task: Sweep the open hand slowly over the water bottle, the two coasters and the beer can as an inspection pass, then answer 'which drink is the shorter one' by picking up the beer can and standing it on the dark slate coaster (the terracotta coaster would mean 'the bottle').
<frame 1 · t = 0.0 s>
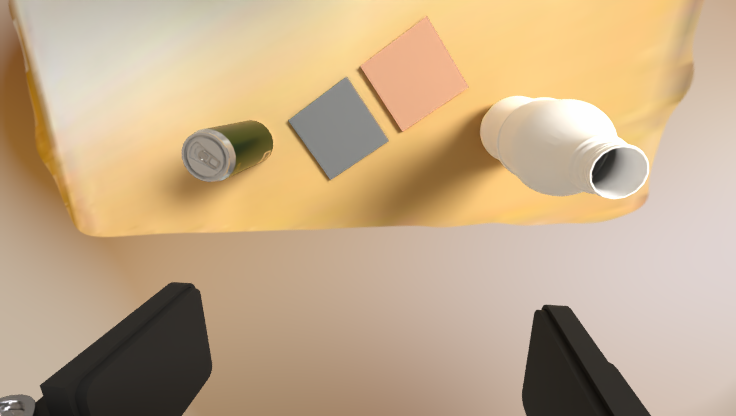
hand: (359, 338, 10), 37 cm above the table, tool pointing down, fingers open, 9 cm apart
beer can: (255, 141, 48), on the table
water bottle: (507, 127, 43), on the table
terracotta coaster: (414, 76, 43), on the table
slate coaster: (339, 130, 46), on the table
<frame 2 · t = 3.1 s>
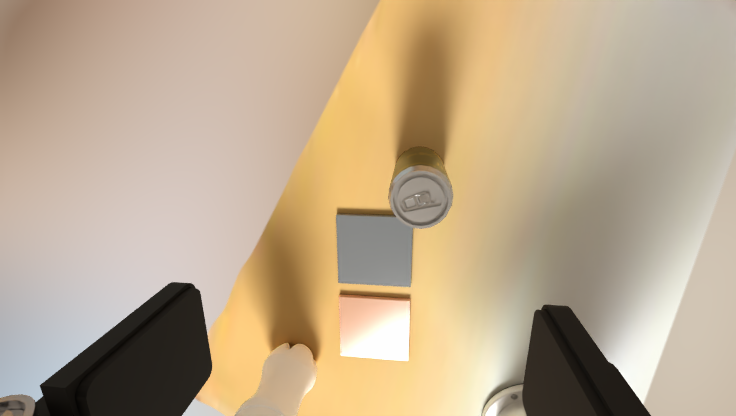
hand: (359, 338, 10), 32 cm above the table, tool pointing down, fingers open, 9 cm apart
beer can: (419, 169, 41), on the table
water bottle: (296, 356, 51), on the table
terracotta coaster: (374, 326, 48), on the table
slate coaster: (374, 249, 45), on the table
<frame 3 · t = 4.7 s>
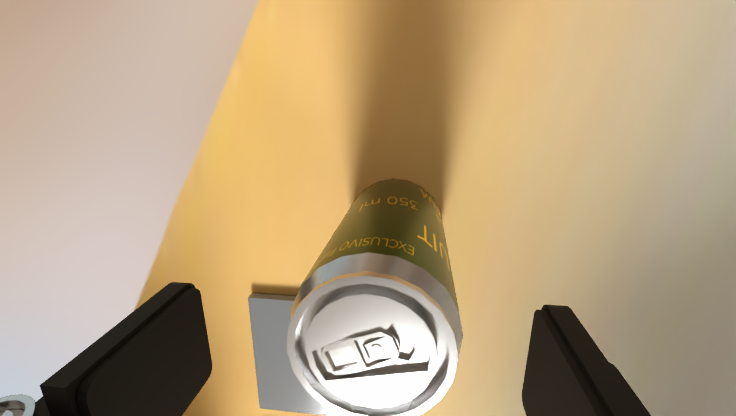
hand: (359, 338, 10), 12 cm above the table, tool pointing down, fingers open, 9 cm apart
beer can: (395, 219, 22), on the table
slate coaster: (320, 355, 25), on the table
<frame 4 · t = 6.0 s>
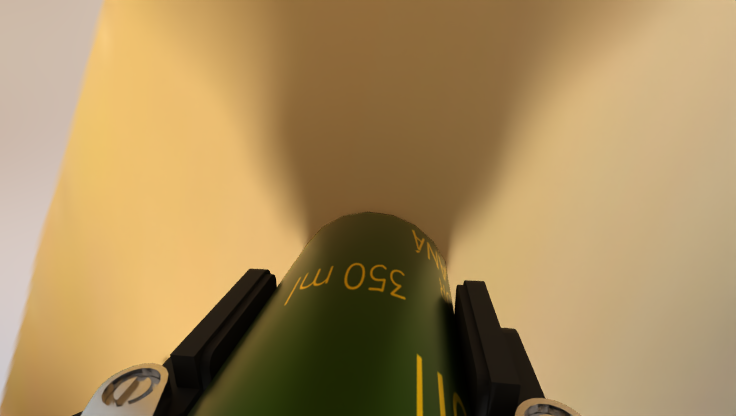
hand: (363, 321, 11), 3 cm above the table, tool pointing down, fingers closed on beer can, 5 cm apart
beer can: (374, 271, 14), on the table, touching gripper
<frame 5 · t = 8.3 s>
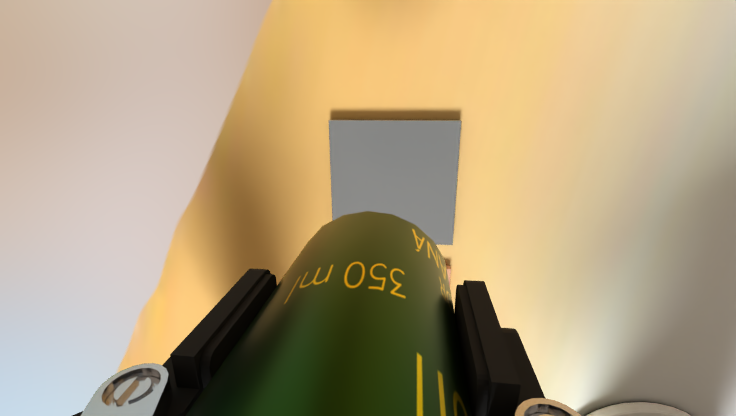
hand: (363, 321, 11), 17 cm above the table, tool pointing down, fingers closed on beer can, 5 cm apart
beer can: (374, 270, 14), point 14 cm above the table, touching gripper
slate coaster: (393, 182, 27), on the table
when the fingers open (5 cm above the table, at t = 10.8 s): beer can drops 1 cm, resting on slate coaster.
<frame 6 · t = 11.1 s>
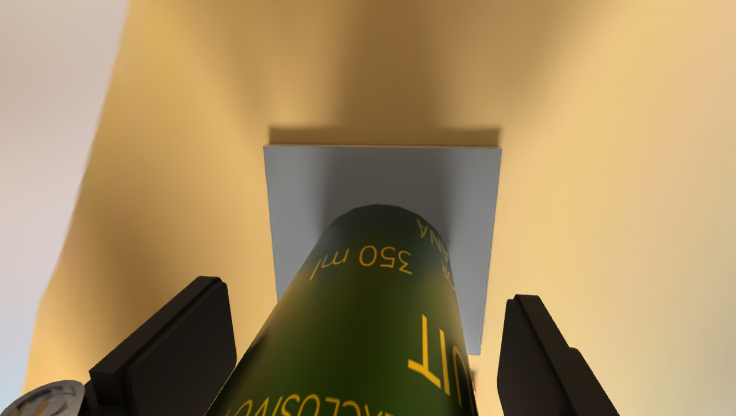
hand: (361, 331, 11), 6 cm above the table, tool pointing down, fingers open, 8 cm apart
beer can: (383, 258, 15), resting on slate coaster
slate coaster: (379, 250, 16), on the table
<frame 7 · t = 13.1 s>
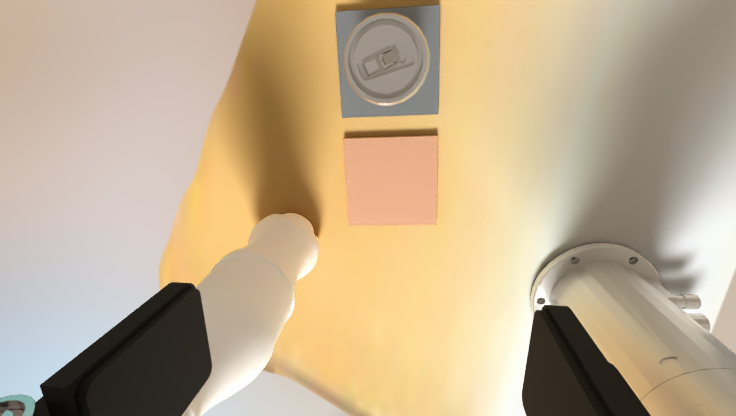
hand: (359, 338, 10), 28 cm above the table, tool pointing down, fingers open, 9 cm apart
beer can: (390, 66, 33), resting on slate coaster
water bottle: (292, 235, 40), on the table
terracotta coaster: (391, 181, 37), on the table
slate coaster: (388, 64, 34), on the table
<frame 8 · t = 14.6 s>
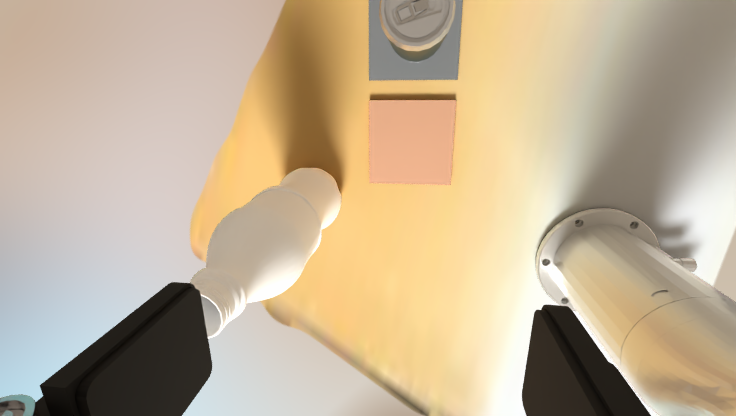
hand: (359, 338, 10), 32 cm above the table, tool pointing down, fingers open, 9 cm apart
beer can: (416, 33, 37), resting on slate coaster
water bottle: (316, 192, 44), on the table
terracotta coaster: (410, 142, 40), on the table
slate coaster: (414, 32, 37), on the table
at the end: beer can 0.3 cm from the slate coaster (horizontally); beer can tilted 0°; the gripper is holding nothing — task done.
